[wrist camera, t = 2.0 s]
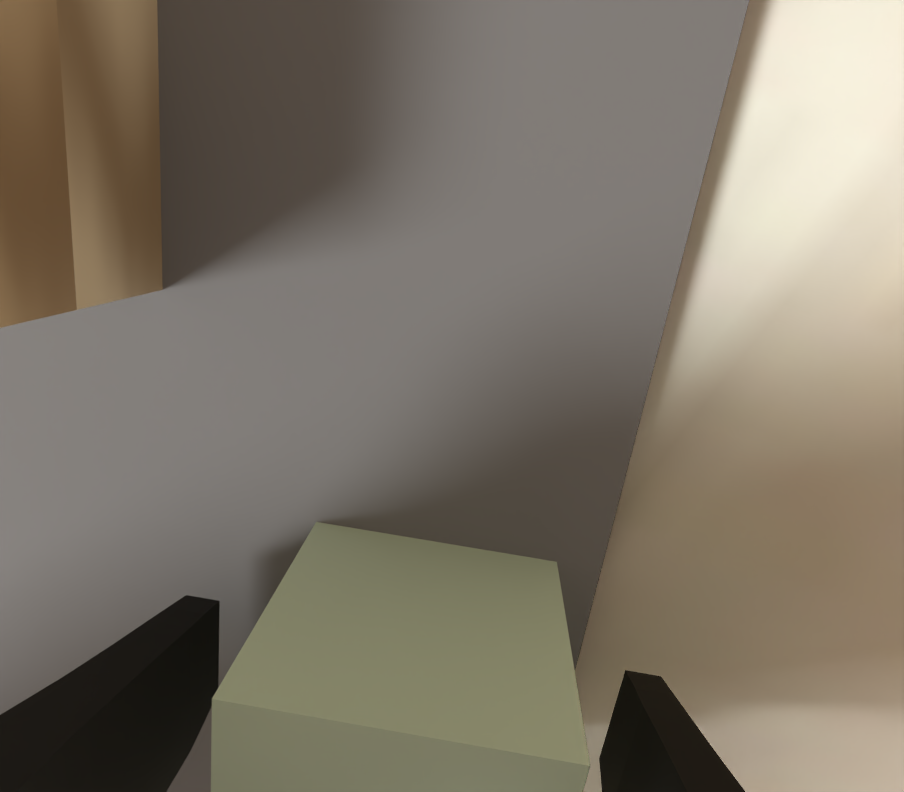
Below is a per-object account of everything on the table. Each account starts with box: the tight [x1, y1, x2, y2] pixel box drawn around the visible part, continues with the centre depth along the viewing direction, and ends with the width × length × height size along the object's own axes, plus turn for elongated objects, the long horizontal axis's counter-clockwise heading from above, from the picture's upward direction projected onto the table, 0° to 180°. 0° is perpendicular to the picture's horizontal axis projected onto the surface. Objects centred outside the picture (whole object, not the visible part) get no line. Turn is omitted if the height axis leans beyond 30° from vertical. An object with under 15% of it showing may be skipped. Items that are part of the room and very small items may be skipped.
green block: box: [211, 522, 590, 792], centre depth 9 cm, size 4×4×4 cm
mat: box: [0, 0, 749, 792], centre depth 10 cm, size 20×16×1 cm
